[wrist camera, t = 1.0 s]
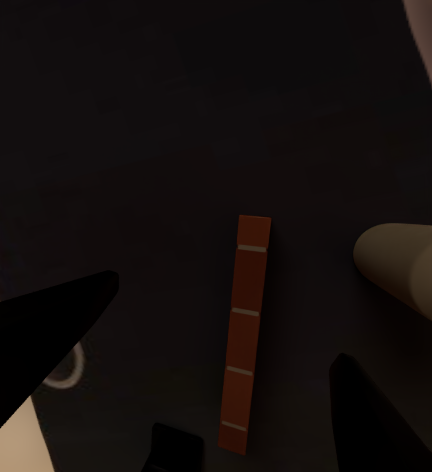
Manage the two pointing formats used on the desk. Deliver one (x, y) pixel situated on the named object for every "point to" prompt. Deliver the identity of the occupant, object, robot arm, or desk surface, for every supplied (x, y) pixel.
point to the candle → (399, 262)
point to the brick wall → (243, 330)
